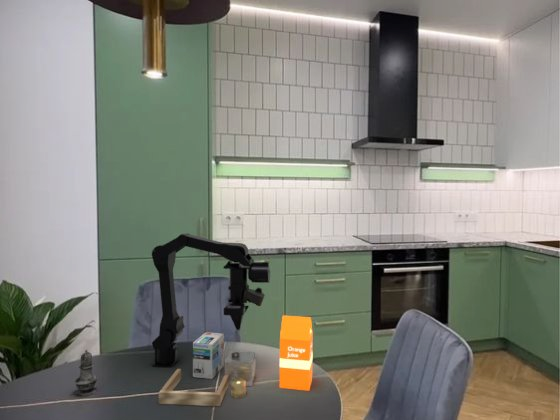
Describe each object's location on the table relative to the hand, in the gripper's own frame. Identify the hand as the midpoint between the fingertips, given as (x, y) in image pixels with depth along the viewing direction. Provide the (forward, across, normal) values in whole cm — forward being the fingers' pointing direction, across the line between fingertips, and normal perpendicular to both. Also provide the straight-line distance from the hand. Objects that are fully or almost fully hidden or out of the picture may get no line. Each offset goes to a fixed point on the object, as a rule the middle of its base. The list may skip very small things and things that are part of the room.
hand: (238, 329), depth 125 cm
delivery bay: (+12, -17, +9) cm, 23 cm away
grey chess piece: (+12, -20, +40) cm, 46 cm away
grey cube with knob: (+12, -9, -2) cm, 15 cm away
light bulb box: (+12, -4, +9) cm, 16 cm away
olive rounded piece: (+12, -18, -3) cm, 22 cm away
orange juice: (+12, -10, -19) cm, 25 cm away
